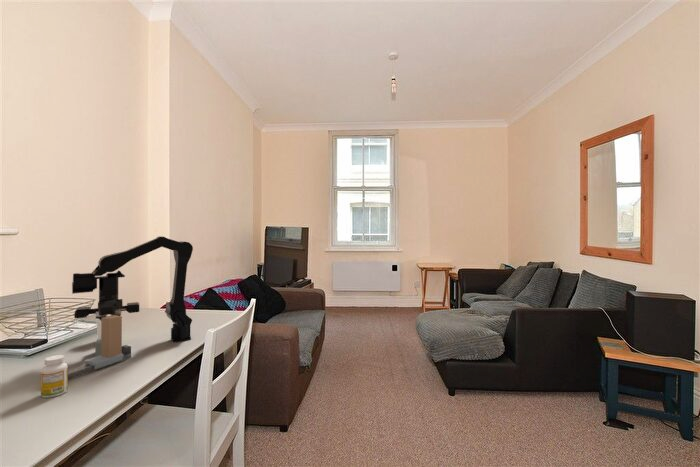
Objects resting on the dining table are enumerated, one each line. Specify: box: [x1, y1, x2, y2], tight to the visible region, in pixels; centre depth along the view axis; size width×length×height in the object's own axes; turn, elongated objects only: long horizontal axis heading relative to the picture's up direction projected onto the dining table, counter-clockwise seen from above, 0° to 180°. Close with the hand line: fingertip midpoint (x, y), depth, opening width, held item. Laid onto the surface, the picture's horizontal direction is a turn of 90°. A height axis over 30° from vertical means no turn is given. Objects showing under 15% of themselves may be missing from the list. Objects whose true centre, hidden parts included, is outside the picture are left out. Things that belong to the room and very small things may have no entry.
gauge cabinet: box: [94, 337, 101, 357], centre depth 122 cm, size 7×7×5 cm
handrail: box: [68, 344, 132, 380], centre depth 107 cm, size 22×3×4 cm, turn 158°
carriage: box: [84, 315, 124, 370], centre depth 110 cm, size 8×6×14 cm, turn 158°
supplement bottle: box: [40, 354, 69, 399], centre depth 91 cm, size 5×5×10 cm
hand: (108, 333), depth 122 cm, fingers closed, pressing on gauge button
